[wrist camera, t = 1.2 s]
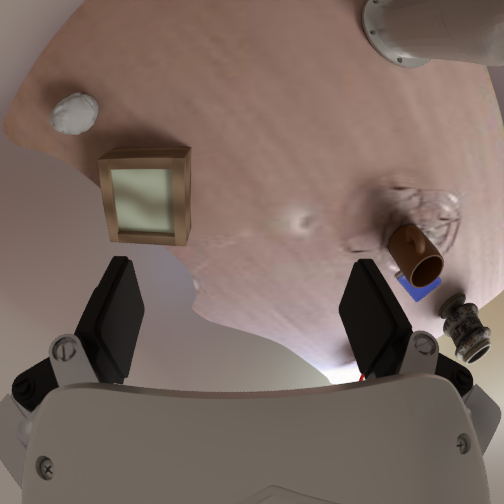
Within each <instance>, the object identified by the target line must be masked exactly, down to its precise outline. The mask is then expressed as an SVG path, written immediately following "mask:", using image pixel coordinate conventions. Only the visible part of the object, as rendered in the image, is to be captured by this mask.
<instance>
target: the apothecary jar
mask: <svg viewBox="0 0 504 504" xmlns="http://www.w3.org/2000/svg"><path fill="white" fill-rule="evenodd" d="M465 300H466V297H465V295H464V294H462V293H461V294H457V295H455V296H453V297H451V298H450V299H449V300H448V301H447V302H446V303H445V304H444V305H443V306H442V307H441V309H440V311H439V316H441V318H442V319H446V318H447V319H446V320H445V323H444V326H443V331H444V334H445V335H446V336H449V337H451V338H452V339H453V341H454V344H455V346H456V352H455V355H456V358H457V359H459V360H463V361H464V362H465V363H466V364H467V365H470V364H473V363H474V362H476V361H478V360H479V359H480V358H482V357H483V356H484V355H485V354H486V353H487V352H488V351H489V350H490V348H491V343H490V337H491V331H490V329H489V328H488V327H483V325H482V324H481V322H480V320H479V318H478V308H477V306H476V305H475V304H473V303H466V304H464V302H465Z"/></svg>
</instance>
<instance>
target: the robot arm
mask: <svg viewBox="0 0 504 504" xmlns="http://www.w3.org/2000/svg"><path fill="white" fill-rule="evenodd" d="M362 25H363V28H364V32H365V34H366V36H367V38H368V40H369V42H370V43H371V45H372V46H373V47H374V48H375V50H376V51H377V52H378V53H379V54H380V55H382V56H383V57H384V58H385V59H387V60H388V61H390V62H391V63H394V64H396V65H398V66H402V67H409V68H414V67H420V66H423V65H424V64H426V63H427V62H429V61H430V59H442V60H453V61H461V62H469V63H475V64H481V65H488V66H501V65H504V0H367V2H366V3H365V4H364V7H363V10H362ZM370 32H371V33H370ZM397 59H398V61H397ZM339 314H340V317H341V320H342V322H343V325H344V328H345V330H346V333H347V336H348V339H349V342H350V344H351V347H352V350H353V353H354V356H355V359H356V362H357V365H358V368H359V371H360V373H361V374H364V377H365V379H366V380H364V381H357V382H351V383H345V384H338V385H331V386H323V387H314V388H305V389H294V390H280V391H259V392H199V391H179V390H166V389H154V388H144V387H135V386H126V385H118V384H123V381H124V378H127V377H128V375H129V371H130V366H131V362H132V358H133V354H134V350H135V345H136V341H137V338H138V334H139V330H140V326H141V323H142V319H143V316H144V304H143V300H142V297H141V293H140V290H139V286H138V282H137V278H136V274H135V270H134V267H133V263H132V260H129V259H128V257H126V256H114V257H113V258H112V260H111V262H110V264H109V266H108V267H107V270H106V271H105V273H104V275H103V277H102V279H101V281H100V283H99V285H98V287H96V288H95V290H94V291H93V293H92V295H91V297H90V300H89V302H88V304H87V306H86V308H85V310H84V312H83V315H82V317H81V319H80V321H79V324H78V326H77V328H76V330H75V333H74V335H73V334H63V335H60V336H59V337H57V338H56V339H55V340H54V341H53V342H52V343H51V345H50V348H49V357H48V358H46V359H44V360H43V361H41V362H39V363H38V364H36V365H34V366H33V367H31V368H30V369H28V370H26V371H25V372H23V373H21V374H20V375H18V376H17V377H16V379H15V380H14V382H13V385H12V394H11V395H9V394H7V395H6V397H4V399H3V400H2V401H1V402H0V459H1V461H2V463H3V464H4V465H5V467H6V468H7V470H8V471H9V473H10V474H11V475H12V477H13V478H14V480H15V481H16V482H17V483H18V485H19V486H20V487H21V489H22V504H491V503H490V494H489V487H488V481H487V475H486V470H485V465H484V461H483V457H482V456H483V454H484V453H485V451H486V449H487V447H488V445H489V443H490V441H491V439H492V437H493V435H494V433H495V431H496V429H497V426H498V424H499V422H500V419H501V411H500V408H499V406H498V405H497V404H496V403H495V402H494V401H493V400H492V399H491V398H490V397H489V396H488V395H487V394H486V393H485V392H484V391H483V390H482V389H481V388H480V387H479V386H478V385H477V384H476V385H473V377H472V375H471V373H470V371H469V370H468V369H467V368H465V367H464V366H462V365H461V364H459V363H457V362H455V361H453V360H452V359H450V358H448V357H446V356H444V355H442V354H441V353H439V346H438V343H437V341H436V339H435V338H434V337H433V336H432V335H431V334H429V333H428V332H425V331H416V332H414V333H413V331H412V326H411V324H410V322H409V320H408V318H407V316H406V315H405V313H404V311H403V309H402V307H401V306H400V304H399V302H398V300H397V299H396V297H395V295H394V294H393V292H392V290H391V288H390V287H389V285H388V283H387V282H386V280H385V279H384V277H383V275H382V274H381V272H380V270H379V269H378V267H377V266H376V264H375V263H374V261H373V260H372V259H359V260H358V261H357V262H355V263H354V265H353V268H352V271H351V274H350V277H349V280H348V283H347V286H346V288H345V291H344V294H343V297H342V299H341V302H340V305H339ZM374 378H375V379H374ZM368 379H370V380H368ZM114 383H117V384H114Z"/></svg>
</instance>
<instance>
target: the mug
mask: <svg viewBox="0 0 504 504" xmlns="http://www.w3.org/2000/svg"><path fill="white" fill-rule="evenodd" d="M389 251H390V254H391V255H392V257H393V259H394V260H395V262H396V263H397V265H398V267H399V268H400V270H401V271H402V273H403V274H404V276H405V278H406V279H407V280H408V282H409V283H410V284H411V286H413V287H415V288H423V287H426V286H428V285H430V284H431V283H432V282H434V281H435V280H436V279H437V278H438V277H439V275H440V274H441V272H442V270H443V267H444V260H443V257H442V256H441V254H440V253H439V251H438V250H437V249H436V247H435V246H434V245H433V244H432V243H431V241H430V240H429V239H428V238H427V237H426V236H425V235H424V233H423V232H422V231H421V230H420V229H419V228H418V227H416V226H414V225H405V226H402V227H400V228H399V229H398V230H396V231H395V232H394V234H393V235H392V237H391V239H390V241H389Z"/></svg>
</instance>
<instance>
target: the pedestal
mask: <svg viewBox="0 0 504 504" xmlns="http://www.w3.org/2000/svg"><path fill="white" fill-rule="evenodd" d="M98 170H99V178H100V185H101V192H102V199H103V205H104V211H105V216H106V221H107V227H108V232H109V237H110V241H111V242H122V243H137V244H138V243H139V244H154V245H171V246H186V244H187V240H188V237H189V233H190V229H191V148H188V147H145V148H119V149H112V150H111V151H109V152H108V153H106V154H105V155H103V156H102V157H101V158H99V159H98Z"/></svg>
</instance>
